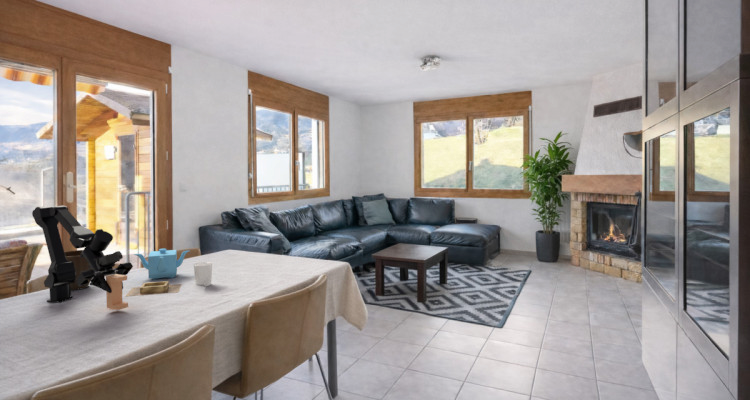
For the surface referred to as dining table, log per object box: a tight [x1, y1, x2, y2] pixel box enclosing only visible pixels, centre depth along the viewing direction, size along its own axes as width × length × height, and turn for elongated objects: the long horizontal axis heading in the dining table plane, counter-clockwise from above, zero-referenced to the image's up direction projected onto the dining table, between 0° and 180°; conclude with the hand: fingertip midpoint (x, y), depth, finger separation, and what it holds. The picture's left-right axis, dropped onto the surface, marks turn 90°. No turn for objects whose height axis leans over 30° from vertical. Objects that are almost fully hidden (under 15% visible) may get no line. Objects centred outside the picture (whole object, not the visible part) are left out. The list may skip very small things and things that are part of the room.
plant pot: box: [64, 249, 92, 291], centre depth 183 cm, size 15×15×16 cm
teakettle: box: [133, 248, 191, 280], centre depth 201 cm, size 19×19×15 cm
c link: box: [105, 274, 129, 311], centre depth 152 cm, size 6×4×12 cm, turn 68°
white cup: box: [193, 261, 213, 288], centre depth 189 cm, size 8×8×10 cm
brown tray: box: [125, 280, 183, 298], centre depth 177 cm, size 20×14×4 cm
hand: (116, 290), depth 152 cm, fingers closed on c link, 4 cm apart
